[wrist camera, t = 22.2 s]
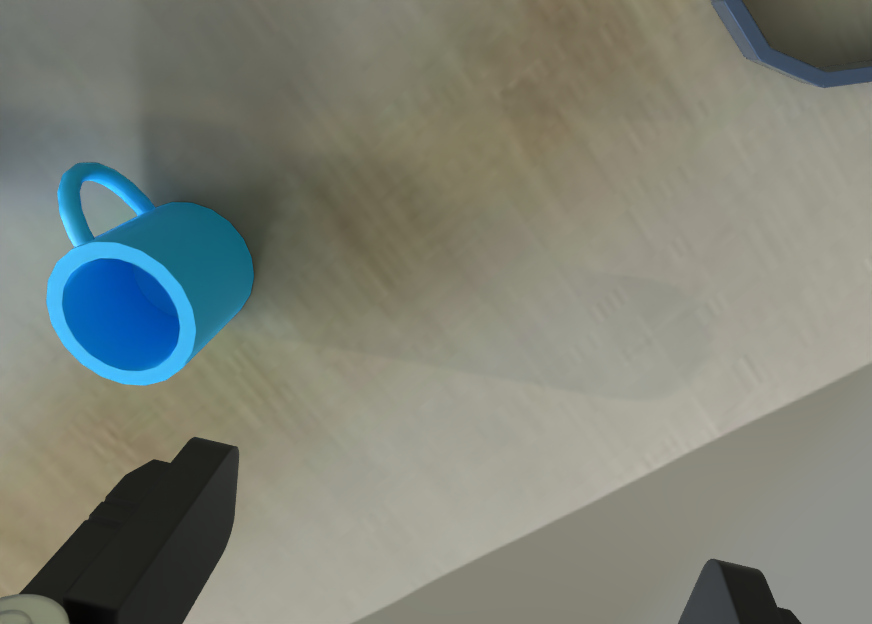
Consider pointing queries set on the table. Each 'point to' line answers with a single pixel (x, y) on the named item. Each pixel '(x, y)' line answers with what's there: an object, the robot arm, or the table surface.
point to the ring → (759, 51)
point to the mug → (144, 282)
